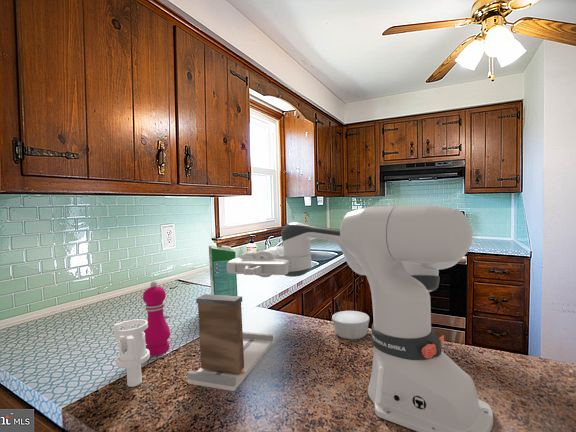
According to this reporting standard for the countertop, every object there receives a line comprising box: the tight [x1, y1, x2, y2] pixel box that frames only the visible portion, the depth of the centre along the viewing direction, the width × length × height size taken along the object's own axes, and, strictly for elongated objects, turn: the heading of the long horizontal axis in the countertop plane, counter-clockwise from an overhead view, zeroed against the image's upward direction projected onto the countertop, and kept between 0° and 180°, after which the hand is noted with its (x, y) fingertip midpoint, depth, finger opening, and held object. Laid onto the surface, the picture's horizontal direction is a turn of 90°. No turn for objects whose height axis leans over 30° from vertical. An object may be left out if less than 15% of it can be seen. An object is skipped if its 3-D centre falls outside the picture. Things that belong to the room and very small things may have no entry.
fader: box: [195, 293, 244, 374], centre depth 74 cm, size 4×10×17 cm, turn 72°
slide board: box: [186, 331, 274, 392], centre depth 81 cm, size 24×12×2 cm, turn 162°
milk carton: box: [208, 245, 239, 296], centre depth 124 cm, size 9×9×25 cm
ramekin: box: [331, 310, 370, 340], centre depth 95 cm, size 11×11×5 cm
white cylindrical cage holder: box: [113, 318, 151, 388], centre depth 72 cm, size 7×7×15 cm
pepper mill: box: [142, 281, 171, 356], centre depth 88 cm, size 7×7×20 cm
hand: (247, 272), depth 91 cm, fingers closed
